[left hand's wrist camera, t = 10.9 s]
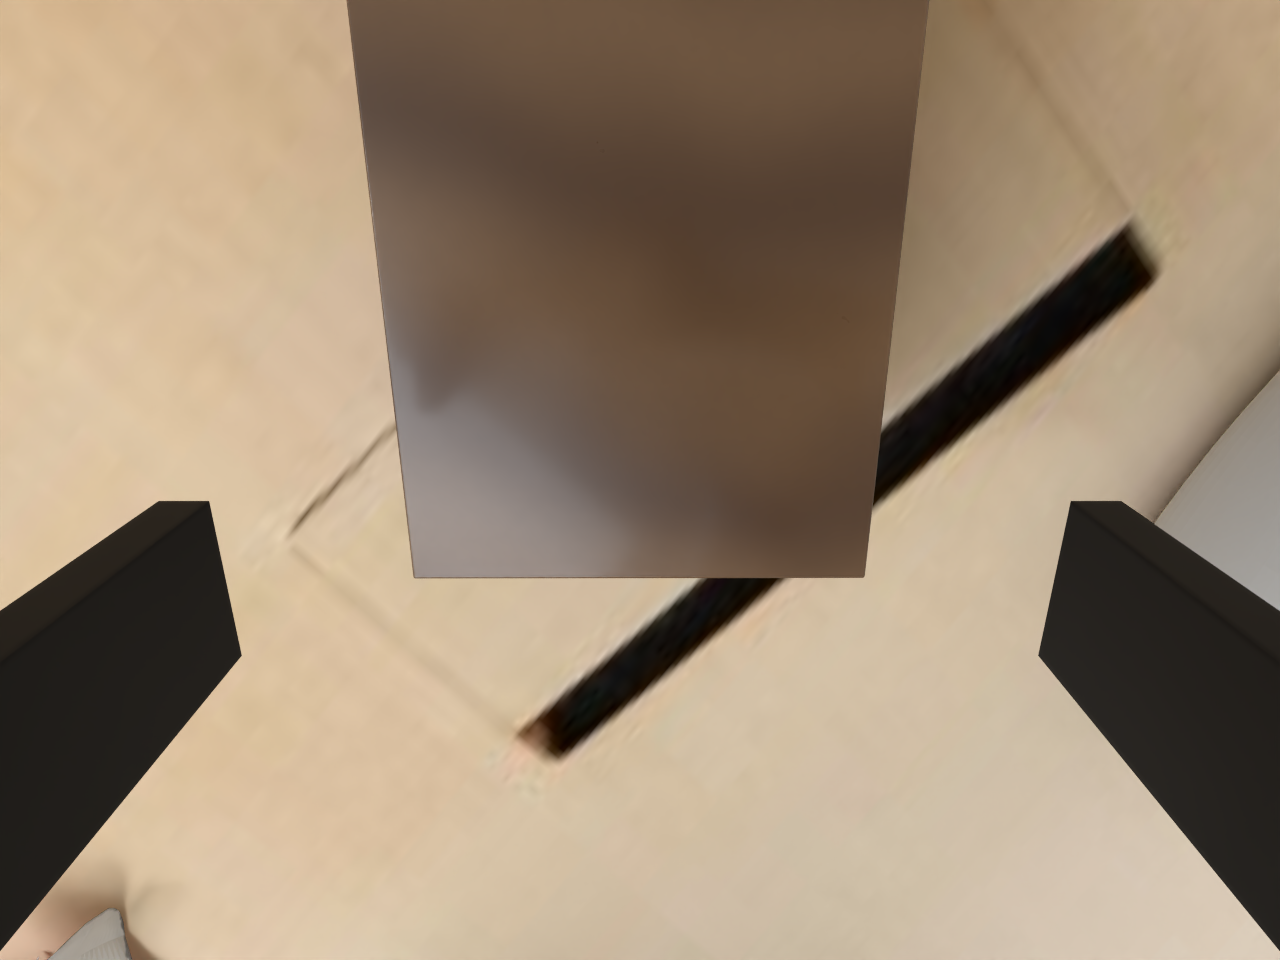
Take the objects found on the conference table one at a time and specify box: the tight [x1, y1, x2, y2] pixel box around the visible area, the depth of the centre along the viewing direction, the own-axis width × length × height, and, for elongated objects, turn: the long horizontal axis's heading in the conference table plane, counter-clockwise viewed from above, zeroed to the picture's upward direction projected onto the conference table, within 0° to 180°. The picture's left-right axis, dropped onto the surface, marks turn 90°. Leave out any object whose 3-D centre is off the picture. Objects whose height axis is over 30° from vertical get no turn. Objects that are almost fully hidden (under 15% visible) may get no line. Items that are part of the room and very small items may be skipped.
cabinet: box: [347, 0, 929, 578], centre depth 22 cm, size 20×11×12 cm, turn 0°
